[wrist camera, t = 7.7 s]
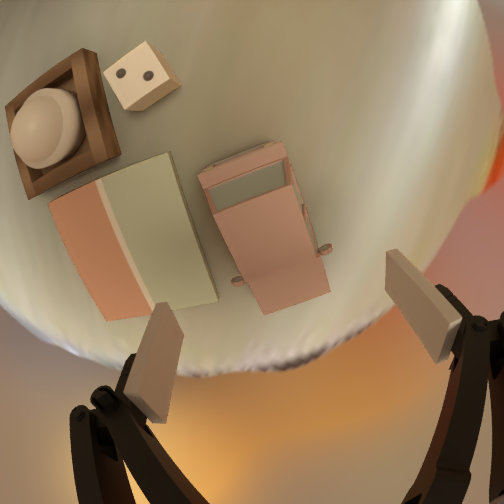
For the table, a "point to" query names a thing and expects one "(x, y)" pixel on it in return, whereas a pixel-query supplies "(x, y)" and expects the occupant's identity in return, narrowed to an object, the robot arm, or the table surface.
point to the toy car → (266, 226)
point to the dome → (48, 127)
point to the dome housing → (93, 113)
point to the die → (141, 78)
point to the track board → (135, 241)
